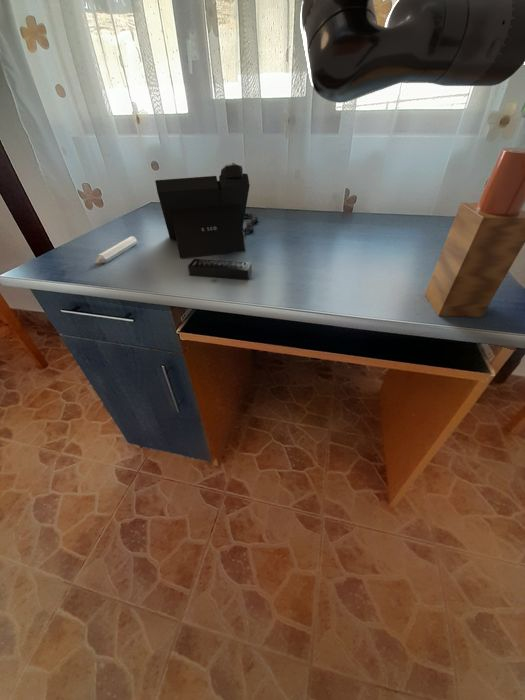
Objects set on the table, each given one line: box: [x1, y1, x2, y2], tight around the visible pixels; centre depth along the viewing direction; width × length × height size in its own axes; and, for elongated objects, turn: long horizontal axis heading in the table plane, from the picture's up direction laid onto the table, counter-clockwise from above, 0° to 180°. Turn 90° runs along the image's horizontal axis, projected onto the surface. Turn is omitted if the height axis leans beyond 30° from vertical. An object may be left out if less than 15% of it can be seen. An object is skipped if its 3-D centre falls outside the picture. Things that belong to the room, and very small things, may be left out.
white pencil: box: [94, 235, 138, 265], centre depth 79 cm, size 3×2×16 cm
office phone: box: [154, 162, 259, 260], centre depth 83 cm, size 29×28×20 cm
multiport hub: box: [187, 258, 253, 281], centre depth 70 cm, size 4×14×2 cm, turn 80°
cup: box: [476, 147, 525, 216], centre depth 45 cm, size 6×6×8 cm
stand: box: [424, 202, 525, 318], centre depth 54 cm, size 8×8×18 cm
